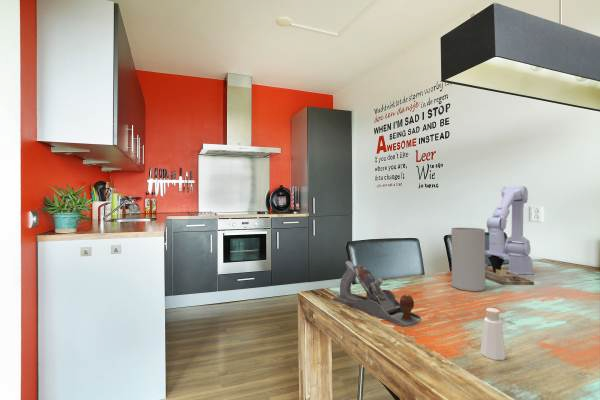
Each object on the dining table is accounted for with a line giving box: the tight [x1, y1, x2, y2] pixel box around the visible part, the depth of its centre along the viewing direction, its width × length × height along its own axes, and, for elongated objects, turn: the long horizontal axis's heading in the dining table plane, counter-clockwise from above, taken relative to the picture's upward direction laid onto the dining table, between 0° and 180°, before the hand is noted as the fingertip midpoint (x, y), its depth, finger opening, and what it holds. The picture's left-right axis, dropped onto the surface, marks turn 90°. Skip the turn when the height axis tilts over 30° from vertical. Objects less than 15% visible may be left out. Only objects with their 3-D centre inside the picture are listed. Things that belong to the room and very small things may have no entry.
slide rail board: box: [485, 270, 535, 286], centre depth 150 cm, size 14×22×1 cm, turn 0°
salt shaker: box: [479, 307, 507, 361], centre depth 77 cm, size 5×5×11 cm
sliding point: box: [496, 268, 520, 279], centre depth 144 cm, size 9×2×4 cm, turn 90°
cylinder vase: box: [451, 227, 486, 292], centre depth 135 cm, size 12×12×25 cm
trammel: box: [485, 263, 509, 282], centre depth 150 cm, size 9×21×4 cm, turn 0°
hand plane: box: [332, 260, 422, 328], centre depth 109 cm, size 9×33×15 cm, turn 35°
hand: (496, 272), depth 146 cm, fingers closed
